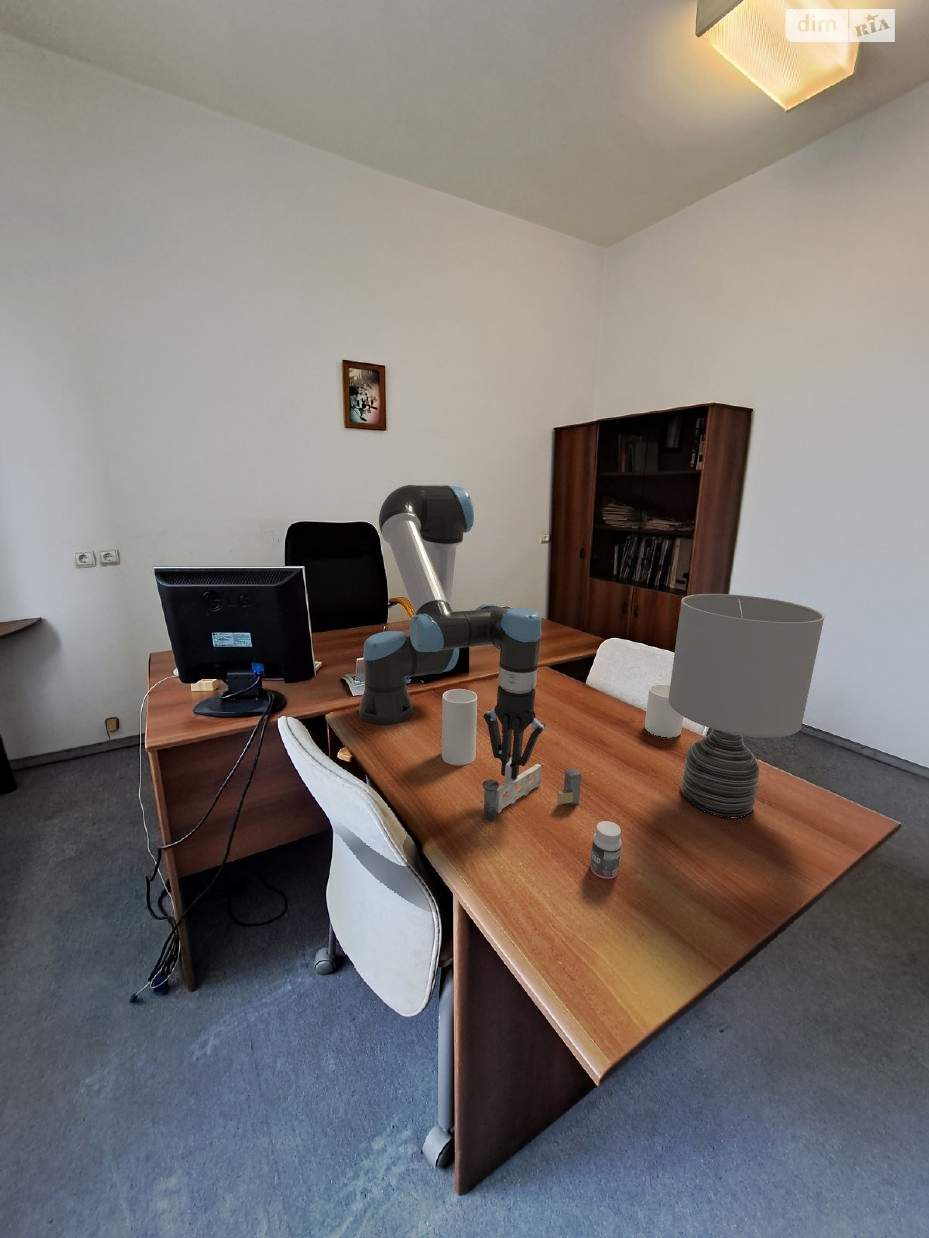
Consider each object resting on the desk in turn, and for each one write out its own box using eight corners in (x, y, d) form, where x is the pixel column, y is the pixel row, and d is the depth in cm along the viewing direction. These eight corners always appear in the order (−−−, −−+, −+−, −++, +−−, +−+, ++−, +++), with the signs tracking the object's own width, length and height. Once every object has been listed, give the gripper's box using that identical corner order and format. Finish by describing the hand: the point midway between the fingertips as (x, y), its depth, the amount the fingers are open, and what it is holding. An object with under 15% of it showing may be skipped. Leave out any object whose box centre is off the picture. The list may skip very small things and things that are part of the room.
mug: (658, 740, 132) (664, 699, 129) (631, 721, 143) (636, 682, 140) (688, 736, 135) (694, 696, 132) (659, 717, 146) (664, 679, 143)
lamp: (731, 851, 92) (772, 629, 81) (633, 784, 113) (655, 599, 102) (807, 815, 103) (852, 614, 92) (705, 759, 123) (732, 590, 113)
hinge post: (479, 813, 101) (480, 781, 99) (494, 810, 102) (495, 778, 100) (484, 823, 98) (486, 790, 96) (500, 820, 99) (501, 787, 97)
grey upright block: (552, 801, 106) (554, 771, 104) (573, 797, 107) (575, 768, 105) (559, 810, 103) (561, 779, 101) (580, 805, 104) (583, 775, 103)
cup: (472, 767, 118) (473, 704, 114) (438, 763, 119) (438, 700, 115) (478, 750, 126) (479, 690, 122) (446, 746, 127) (446, 687, 123)
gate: (498, 813, 101) (499, 791, 100) (494, 810, 102) (494, 788, 101) (540, 785, 111) (541, 765, 110) (536, 783, 112) (537, 763, 110)
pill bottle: (586, 860, 89) (590, 819, 87) (612, 859, 89) (616, 818, 87) (595, 880, 85) (599, 837, 82) (622, 879, 85) (627, 836, 83)
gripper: (479, 685, 99) (474, 789, 106) (541, 700, 94) (531, 809, 100) (494, 673, 106) (488, 772, 112) (553, 686, 100) (542, 789, 107)
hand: (508, 789), depth 106 cm, fingers closed
